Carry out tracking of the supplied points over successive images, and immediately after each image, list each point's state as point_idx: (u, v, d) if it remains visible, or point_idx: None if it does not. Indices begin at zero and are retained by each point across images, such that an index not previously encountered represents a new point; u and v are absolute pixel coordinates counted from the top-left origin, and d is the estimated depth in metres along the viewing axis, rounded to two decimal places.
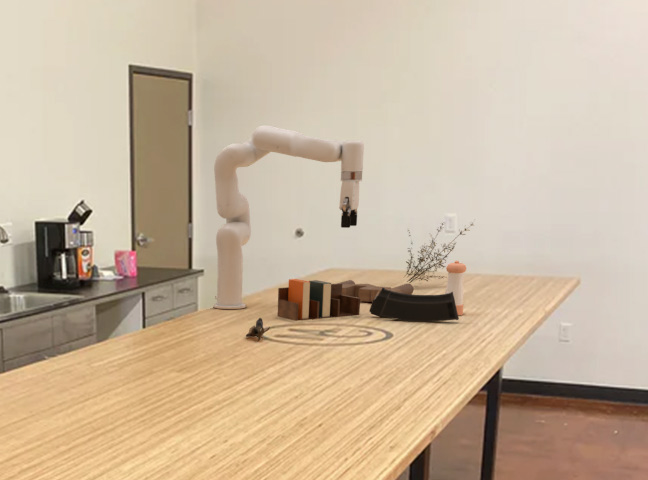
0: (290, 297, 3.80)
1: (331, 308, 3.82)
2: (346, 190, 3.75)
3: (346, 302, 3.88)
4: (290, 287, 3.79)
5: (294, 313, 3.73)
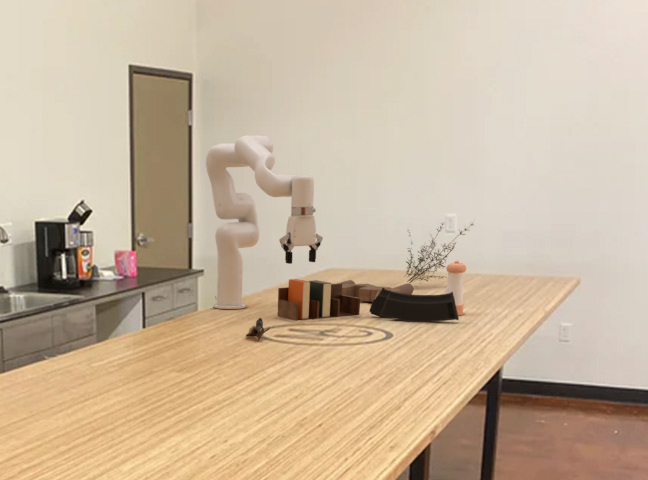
0: (290, 297, 3.80)
1: (331, 308, 3.82)
2: (289, 225, 3.68)
3: (346, 302, 3.88)
4: (290, 287, 3.79)
5: (294, 313, 3.73)
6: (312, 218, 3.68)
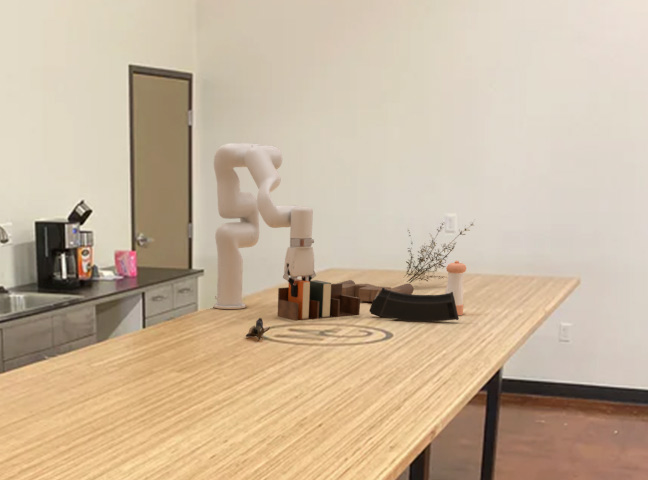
0: (290, 297, 3.80)
1: (331, 308, 3.82)
2: (287, 256, 3.71)
3: (346, 302, 3.88)
4: (290, 287, 3.79)
5: (294, 313, 3.73)
6: (311, 249, 3.72)
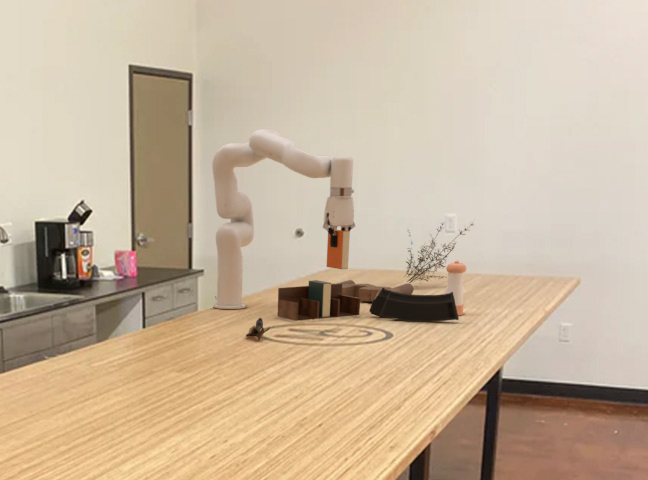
0: (329, 248, 3.81)
1: (331, 308, 3.82)
2: (327, 206, 3.73)
3: (346, 302, 3.88)
4: (329, 238, 3.80)
5: (294, 313, 3.73)
6: (350, 199, 3.73)
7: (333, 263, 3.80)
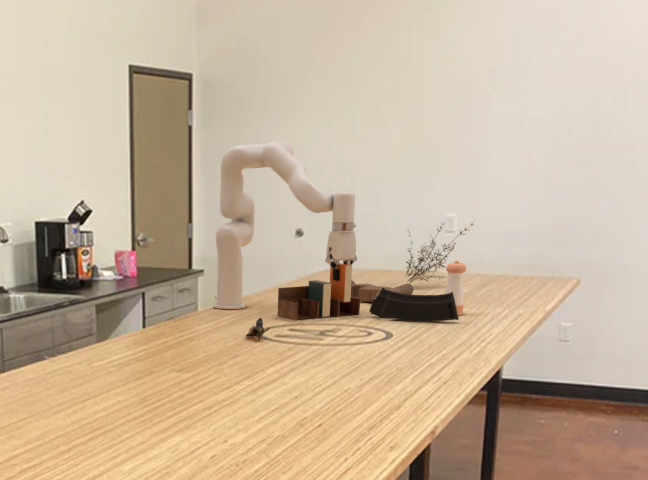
0: (331, 281, 3.86)
1: (331, 308, 3.82)
2: (330, 240, 3.77)
3: (346, 302, 3.88)
4: (332, 271, 3.84)
5: (294, 313, 3.73)
6: (353, 233, 3.77)
7: (336, 296, 3.84)
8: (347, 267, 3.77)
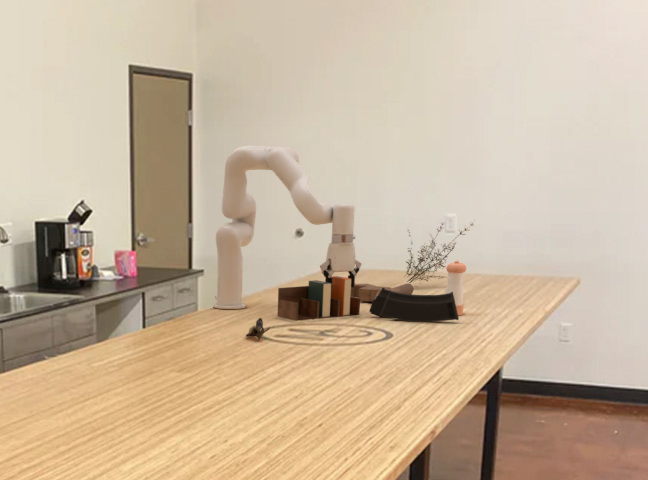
0: (331, 294, 3.87)
1: (331, 308, 3.82)
2: (329, 252, 3.78)
3: None
4: None
5: (294, 313, 3.73)
6: (352, 245, 3.79)
7: None
8: (346, 281, 3.79)
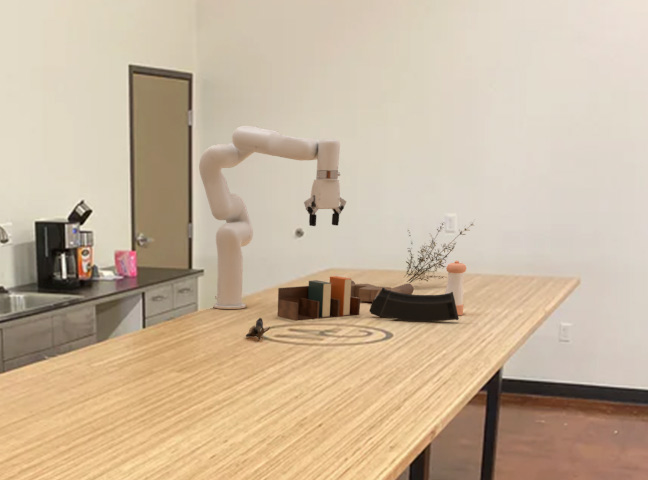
0: (331, 294, 3.87)
1: (331, 308, 3.82)
2: (314, 188, 3.76)
3: None
4: (331, 284, 3.86)
5: (294, 313, 3.73)
6: (337, 182, 3.76)
7: None
8: (346, 281, 3.79)
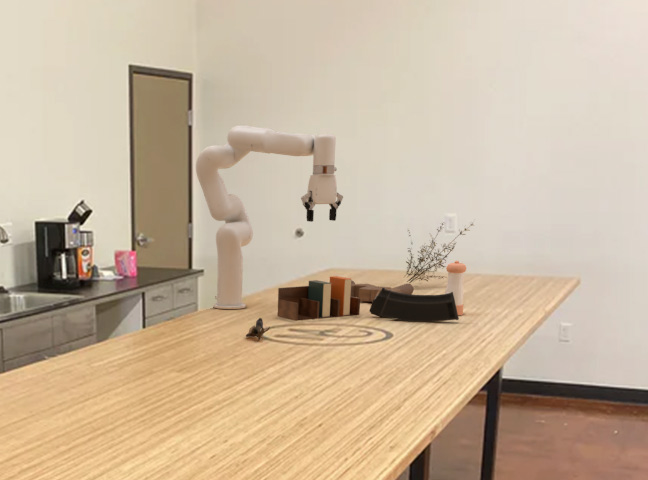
0: (331, 294, 3.87)
1: (331, 308, 3.82)
2: (310, 184, 3.76)
3: None
4: (331, 284, 3.86)
5: (294, 313, 3.73)
6: (333, 177, 3.77)
7: None
8: (346, 281, 3.79)
